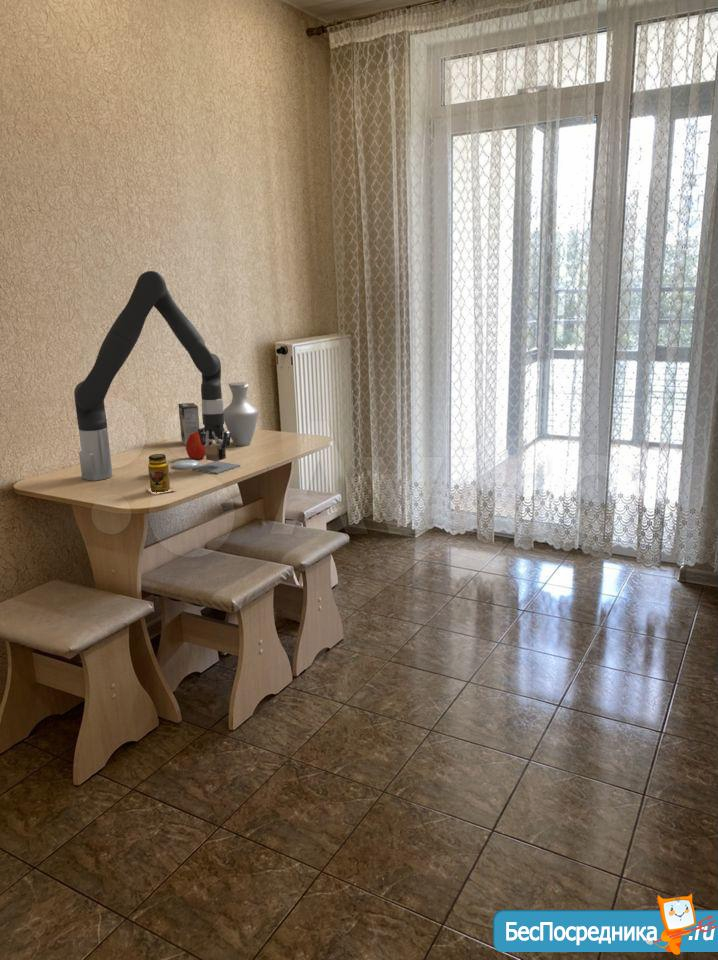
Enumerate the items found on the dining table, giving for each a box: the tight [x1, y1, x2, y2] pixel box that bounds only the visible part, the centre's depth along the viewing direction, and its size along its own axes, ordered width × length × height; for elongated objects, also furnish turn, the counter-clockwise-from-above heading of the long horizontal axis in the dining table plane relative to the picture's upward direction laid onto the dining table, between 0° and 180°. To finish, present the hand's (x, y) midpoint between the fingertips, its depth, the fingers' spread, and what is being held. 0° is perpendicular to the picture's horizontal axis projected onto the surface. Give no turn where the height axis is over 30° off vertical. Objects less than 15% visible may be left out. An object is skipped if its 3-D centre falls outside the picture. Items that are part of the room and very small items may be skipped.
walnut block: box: [205, 442, 227, 462], centre depth 256 cm, size 5×5×5 cm
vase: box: [223, 381, 259, 447], centre depth 290 cm, size 14×14×25 cm
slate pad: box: [191, 461, 241, 475], centre depth 257 cm, size 12×12×1 cm
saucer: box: [173, 459, 200, 470], centre depth 261 cm, size 9×9×1 cm
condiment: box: [147, 453, 171, 493], centre depth 230 cm, size 7×8×12 cm
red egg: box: [185, 432, 206, 460], centre depth 270 cm, size 8×8×11 cm
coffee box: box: [178, 402, 200, 446], centre depth 294 cm, size 9×6×16 cm
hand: (216, 457), depth 256 cm, fingers closed on walnut block, 5 cm apart
